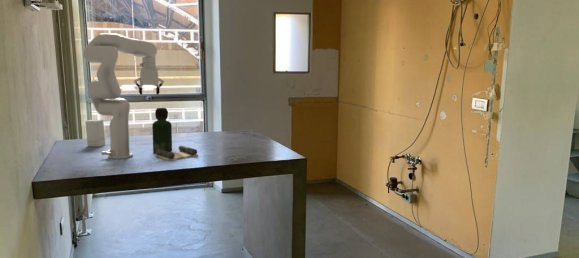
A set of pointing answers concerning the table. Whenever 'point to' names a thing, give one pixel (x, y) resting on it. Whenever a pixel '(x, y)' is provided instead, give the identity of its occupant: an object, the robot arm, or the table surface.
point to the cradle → (176, 153)
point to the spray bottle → (162, 131)
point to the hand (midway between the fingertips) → (149, 94)
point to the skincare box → (95, 133)
